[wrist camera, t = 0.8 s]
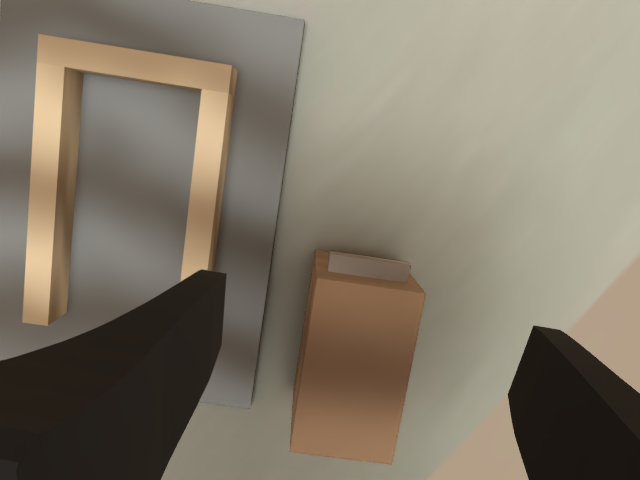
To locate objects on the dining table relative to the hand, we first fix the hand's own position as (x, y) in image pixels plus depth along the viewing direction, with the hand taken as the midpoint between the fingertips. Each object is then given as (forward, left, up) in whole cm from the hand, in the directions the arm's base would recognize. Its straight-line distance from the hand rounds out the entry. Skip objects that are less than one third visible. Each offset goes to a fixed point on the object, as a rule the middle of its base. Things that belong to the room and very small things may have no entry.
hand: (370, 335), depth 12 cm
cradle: (0, +10, -15) cm, 18 cm away
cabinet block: (-5, -1, -15) cm, 16 cm away
